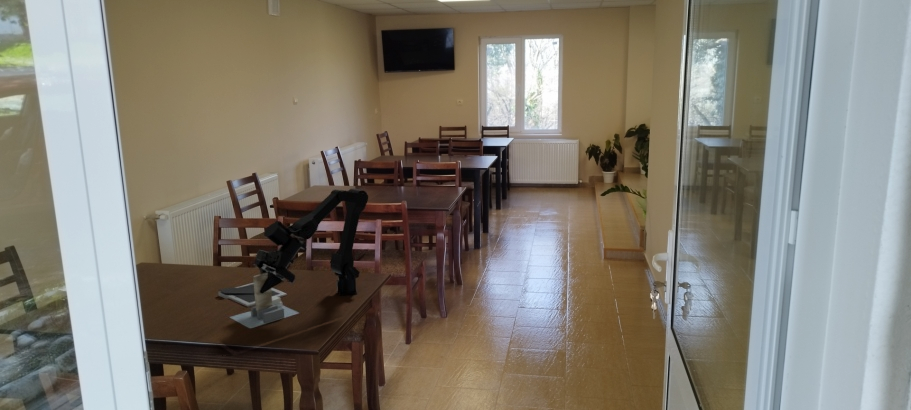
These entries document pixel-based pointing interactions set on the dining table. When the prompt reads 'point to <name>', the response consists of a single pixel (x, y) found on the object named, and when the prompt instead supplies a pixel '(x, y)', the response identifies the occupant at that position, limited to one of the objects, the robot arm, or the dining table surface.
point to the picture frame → (245, 294)
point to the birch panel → (261, 298)
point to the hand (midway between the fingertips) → (259, 292)
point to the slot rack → (263, 315)
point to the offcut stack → (276, 301)
